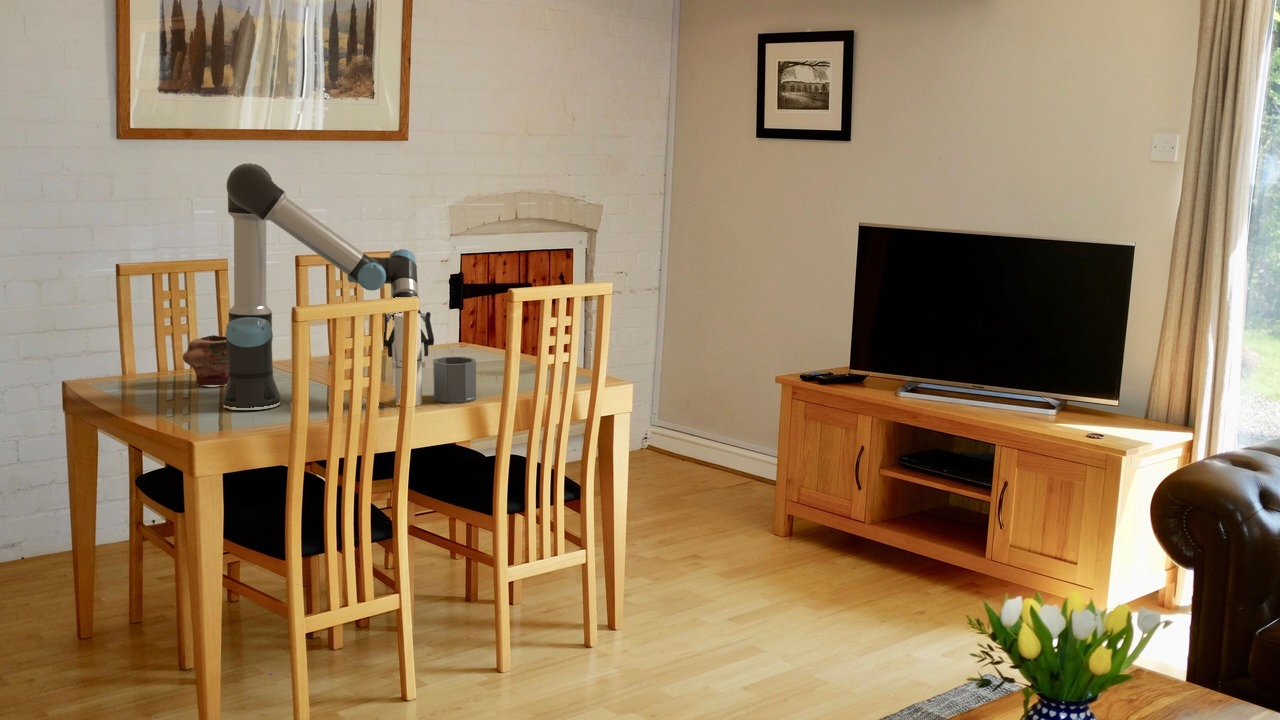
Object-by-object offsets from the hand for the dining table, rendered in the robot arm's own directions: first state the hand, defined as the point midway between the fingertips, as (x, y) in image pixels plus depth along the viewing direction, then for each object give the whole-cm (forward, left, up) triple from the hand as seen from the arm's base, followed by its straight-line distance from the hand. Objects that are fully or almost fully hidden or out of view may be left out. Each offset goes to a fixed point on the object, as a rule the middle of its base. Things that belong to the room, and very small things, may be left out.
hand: (408, 365), depth 336 cm
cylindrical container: (0, +3, -12) cm, 12 cm away
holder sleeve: (+13, +7, -12) cm, 19 cm away
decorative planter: (-53, +37, -12) cm, 66 cm away
